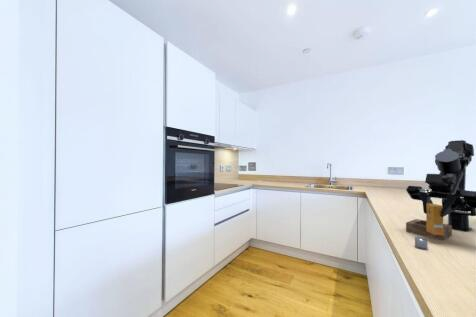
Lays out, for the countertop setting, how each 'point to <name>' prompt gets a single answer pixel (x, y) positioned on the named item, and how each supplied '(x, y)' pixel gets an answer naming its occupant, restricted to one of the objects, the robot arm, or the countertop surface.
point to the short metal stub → (421, 243)
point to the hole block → (420, 228)
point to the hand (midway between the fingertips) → (432, 214)
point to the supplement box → (434, 219)
